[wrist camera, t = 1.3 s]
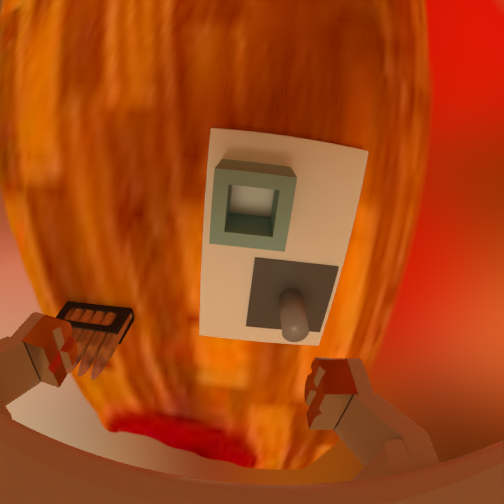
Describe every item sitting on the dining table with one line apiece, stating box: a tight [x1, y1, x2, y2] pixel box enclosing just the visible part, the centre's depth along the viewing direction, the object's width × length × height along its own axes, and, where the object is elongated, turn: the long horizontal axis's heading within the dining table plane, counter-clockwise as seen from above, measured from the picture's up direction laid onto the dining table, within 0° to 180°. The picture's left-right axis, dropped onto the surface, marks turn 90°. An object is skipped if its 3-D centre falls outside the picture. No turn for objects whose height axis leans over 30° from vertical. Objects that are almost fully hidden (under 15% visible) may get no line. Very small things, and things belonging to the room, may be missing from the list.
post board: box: [199, 128, 369, 346], centre depth 30 cm, size 24×15×8 cm, turn 174°
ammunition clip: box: [56, 301, 134, 380], centre depth 32 cm, size 11×2×12 cm, turn 89°
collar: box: [209, 159, 297, 252], centre depth 27 cm, size 6×6×5 cm
